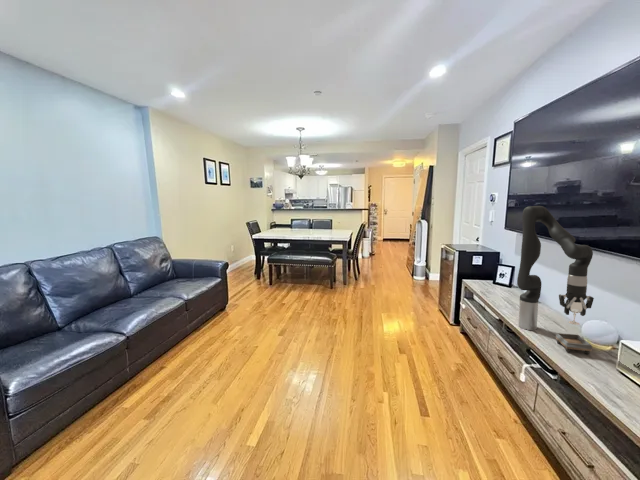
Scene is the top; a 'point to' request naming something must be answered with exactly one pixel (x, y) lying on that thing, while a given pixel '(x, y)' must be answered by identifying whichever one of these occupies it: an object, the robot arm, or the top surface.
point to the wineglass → (575, 311)
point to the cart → (573, 342)
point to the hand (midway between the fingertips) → (574, 314)
